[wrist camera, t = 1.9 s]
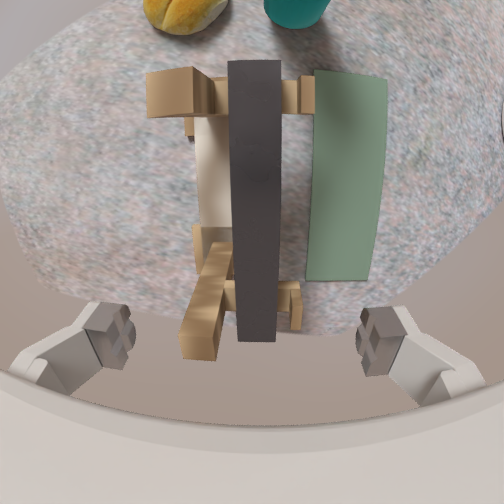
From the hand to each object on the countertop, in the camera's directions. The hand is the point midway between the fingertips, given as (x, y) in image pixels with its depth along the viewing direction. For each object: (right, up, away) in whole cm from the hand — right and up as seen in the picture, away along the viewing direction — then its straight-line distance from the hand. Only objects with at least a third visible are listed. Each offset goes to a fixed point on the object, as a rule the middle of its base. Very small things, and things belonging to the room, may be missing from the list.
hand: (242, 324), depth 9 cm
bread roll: (-7, +29, +11) cm, 32 cm away
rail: (+1, +6, +11) cm, 12 cm away
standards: (-1, +10, +20) cm, 22 cm away
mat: (+11, +10, +20) cm, 24 cm away
